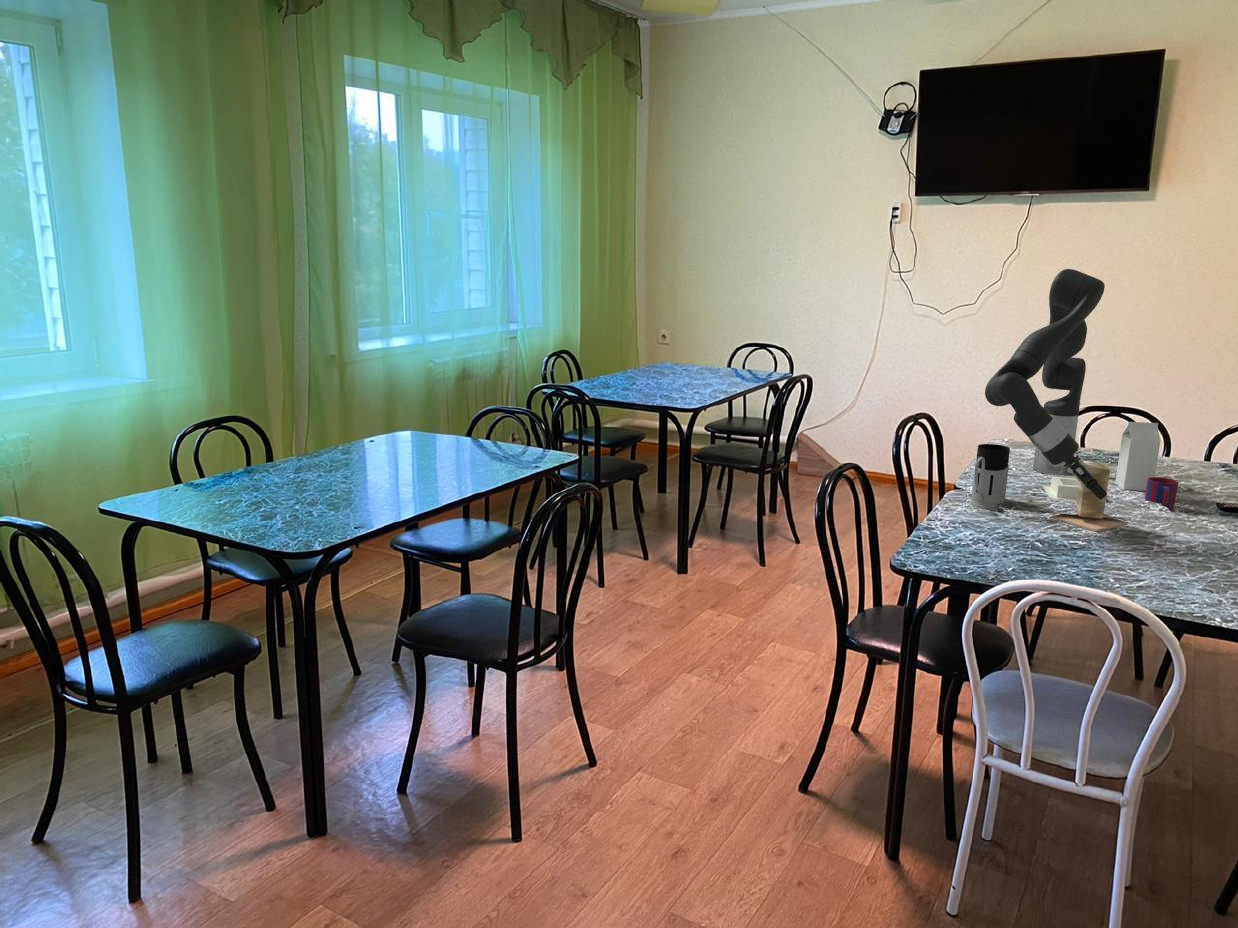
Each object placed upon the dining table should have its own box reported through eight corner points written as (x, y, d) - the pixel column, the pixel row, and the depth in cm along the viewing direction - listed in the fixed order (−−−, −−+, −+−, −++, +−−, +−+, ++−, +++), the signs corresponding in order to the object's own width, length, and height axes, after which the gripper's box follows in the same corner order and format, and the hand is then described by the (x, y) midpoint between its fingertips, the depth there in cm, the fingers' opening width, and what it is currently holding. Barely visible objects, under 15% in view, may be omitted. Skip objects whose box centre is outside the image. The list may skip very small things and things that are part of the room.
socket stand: (1049, 504, 236) (1052, 486, 234) (1041, 490, 248) (1043, 474, 247) (1106, 508, 232) (1108, 491, 231) (1094, 494, 244) (1097, 478, 243)
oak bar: (1079, 516, 219) (1086, 467, 216) (1075, 510, 224) (1082, 462, 221) (1102, 518, 218) (1110, 469, 215) (1098, 512, 223) (1105, 464, 220)
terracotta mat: (1050, 518, 224) (1050, 516, 224) (1081, 511, 229) (1081, 509, 229) (1096, 531, 213) (1096, 529, 213) (1127, 524, 219) (1128, 522, 219)
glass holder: (1011, 504, 234) (1018, 447, 231) (989, 516, 224) (995, 456, 221) (977, 498, 240) (983, 441, 237) (954, 509, 230) (960, 450, 227)
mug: (1173, 504, 237) (1177, 478, 235) (1176, 514, 228) (1180, 488, 226) (1143, 501, 239) (1147, 475, 238) (1145, 510, 231) (1149, 484, 229)
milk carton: (1151, 496, 243) (1163, 425, 239) (1122, 494, 245) (1133, 424, 240) (1142, 489, 250) (1153, 420, 246) (1114, 487, 252) (1124, 419, 247)
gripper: (1072, 436, 211) (1122, 492, 211) (1060, 424, 225) (1108, 476, 225) (1044, 457, 214) (1093, 512, 214) (1034, 444, 228) (1081, 495, 227)
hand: (1100, 493), depth 219 cm, fingers closed on oak bar, 5 cm apart
